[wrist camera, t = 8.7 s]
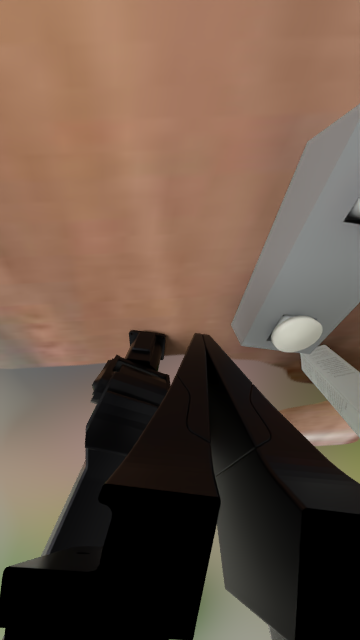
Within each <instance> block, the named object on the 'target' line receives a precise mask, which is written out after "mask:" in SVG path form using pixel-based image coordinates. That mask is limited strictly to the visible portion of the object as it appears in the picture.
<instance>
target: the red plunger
mask: <svg viewBox="0 0 360 640" xmlns="http://www.w3.org/2000/svg"><path fill="white" fill-rule="evenodd" d="M359 219H360V196H359V198H358V199H357V201H356V203H355V204H354V206H353V207H352V209H351V210H350V212H349V213H348V215H347V216H346V218H345V220H359Z"/></svg>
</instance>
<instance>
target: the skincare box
mask: <svg viewBox="0 0 360 640" xmlns="http://www.w3.org/2000/svg"><path fill="white" fill-rule="evenodd" d="M300 355H301V365H302V370H303V372H304V373H305V374H306V375H307V376H308V377H309V379H310V380H311V381H312V382H313V383H314V384H315V386H316V387H317V388H318V389H319V390H320V391H321V393H322V394H323V395H324V396H325V397H326V399H327V400H328V401H329V402H330V403H331V404H332V406H333V407H334V408H335V409H336V410H337V412H338V413H339V414H340V415H341V416H342V417H343V419H344V420H345V421H346V422H347V423H348V425H349V426H350V427H351V428H352V429H353V431H354V432H355V433H356V434H357V435H358V436H359V437H360V372H359V371H357V370H356V369H355V368H354V367H352V366H351V365H350V364H349V363H347V362H346V361H345V360H344V359H342V358H341V357H340V356H339V355H337V354H336V353H335V352H334V351H332V350H331V349H330V348H329V347H327V346H326V345H321V346H318V347H316V348H315V350H314V351H313V352H312V353H311V354H303V353H300Z"/></svg>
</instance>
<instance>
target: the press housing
mask: <svg viewBox="0 0 360 640" xmlns="http://www.w3.org/2000/svg"><path fill="white" fill-rule="evenodd" d="M359 196H360V104H359V105H357V106H356V107H355V108H353V109H352V110H351V111H349V112H348V113H346V114H345V115H344V116H342V117H341V118H340V119H338V120H337V121H335V122H334V123H333V124H331V125H330V126H329V127H327V128H326V129H324V130H323V131H322V132H320V133H319V134H318V135H316V136H315V137H313V138H312V139H311V140H309V141H308V142H307V144H306V147H305V149H304V152H303V154H302V156H301V159H300V161H299V164H298V166H297V168H296V171H295V173H294V175H293V178H292V180H291V183H290V185H289V187H288V190H287V192H286V195H285V197H284V199H283V202H282V204H281V207H280V209H279V211H278V214H277V216H276V219H275V221H274V223H273V226H272V228H271V231H270V233H269V235H268V238H267V240H266V242H265V245H264V247H263V250H262V252H261V254H260V257H259V259H258V262H257V264H256V266H255V269H254V271H253V274H252V276H251V278H250V281H249V283H248V286H247V288H246V290H245V293H244V295H243V297H242V300H241V302H240V305H239V307H238V309H237V312H236V314H235V317H234V319H233V321H232V324H231V326H232V328H233V330H234V332H235V334H236V336H237V338H238V340H239V342H240V344H241V346H247V347H255V348H263V349H271V350H278V349H277V348H276V347H275V346H274V344H273V343H272V341H271V334H272V332H273V329H274V328H275V326H276V325H277V323H278V322H279V320H280V319H281V317H282V316H283V314H286V315H294V316H309V317H311V318H313V319H315V320H316V321H318V322H319V323H320V324H321V325H322V329H323V330H322V334H321V336H320V338H319V339H318V340H317V341H316V342H315V343H314V344H312V345H311V346H309V347H307V348H305V349H303V350H300V351H296V352H295V353H303V354H311V353H312V352H313V351H314V350H315V348H316V347H317V346H318V345H319V344H320V343H321V342H322V341H323V340H324V339H325V338H326V337H327V336H328V335H329V334H330V333H331V332H332V331H333V330H334V329H335V328H336V326H337V325H338V324H339V323H340V322H341V321H342V320H343V319H344V318H345V317H346V316H347V315H348V314H349V313H350V312H351V311H352V310H353V309H354V308H355V307H356V306H357V304H358V303H359V302H360V219H359V220H345V218H346V216H347V215H348V213H349V212H350V210H351V209H352V207H353V206H354V204H355V203H356V201H357V199H358V198H359ZM279 351H280V350H279Z"/></svg>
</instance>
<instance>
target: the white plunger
mask: <svg viewBox="0 0 360 640" xmlns="http://www.w3.org/2000/svg"><path fill="white" fill-rule="evenodd" d="M322 330H323V329H322V325H321V324H320V323H319V322H318V321H316V320H315V319H313V318H311V317H309V316H294V315H286V314H283V316H282V317H281V319H280V320H279V322H278V323H277V325H276V326H275V328H274V329H273V332H272V334H271V341H272V343H273V344H274V346H275V347H276V348H277V349H278V350H280V351H283V352H296V351H300V350H303V349H305V348H307V347H309V346H311V345H312V344H314V343H315V342H316V341H317V340H318V339H319V338H320V336H321V334H322Z"/></svg>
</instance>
